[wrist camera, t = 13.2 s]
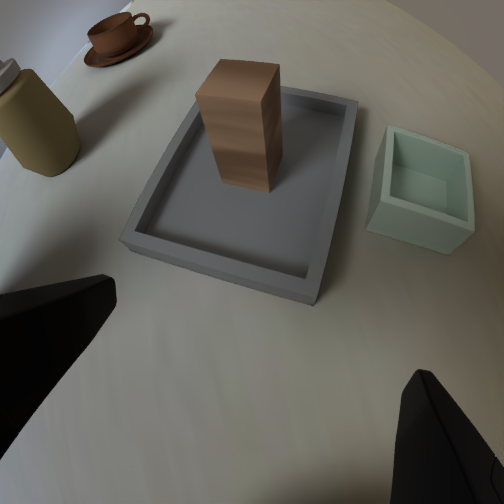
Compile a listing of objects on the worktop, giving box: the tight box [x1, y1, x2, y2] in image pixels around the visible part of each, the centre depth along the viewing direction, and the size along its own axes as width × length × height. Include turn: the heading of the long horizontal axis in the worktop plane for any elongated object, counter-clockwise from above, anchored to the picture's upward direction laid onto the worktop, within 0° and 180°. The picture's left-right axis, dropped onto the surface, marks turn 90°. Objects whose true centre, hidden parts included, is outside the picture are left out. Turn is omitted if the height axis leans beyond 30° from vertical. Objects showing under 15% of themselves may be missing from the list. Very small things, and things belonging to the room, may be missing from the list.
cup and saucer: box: [84, 12, 153, 67], centre depth 36 cm, size 12×12×6 cm
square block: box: [195, 59, 283, 193], centre depth 21 cm, size 4×4×10 cm
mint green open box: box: [365, 124, 475, 255], centre depth 22 cm, size 8×8×4 cm
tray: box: [119, 86, 358, 306], centre depth 25 cm, size 19×15×2 cm
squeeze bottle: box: [0, 58, 80, 177], centre depth 22 cm, size 8×8×18 cm
